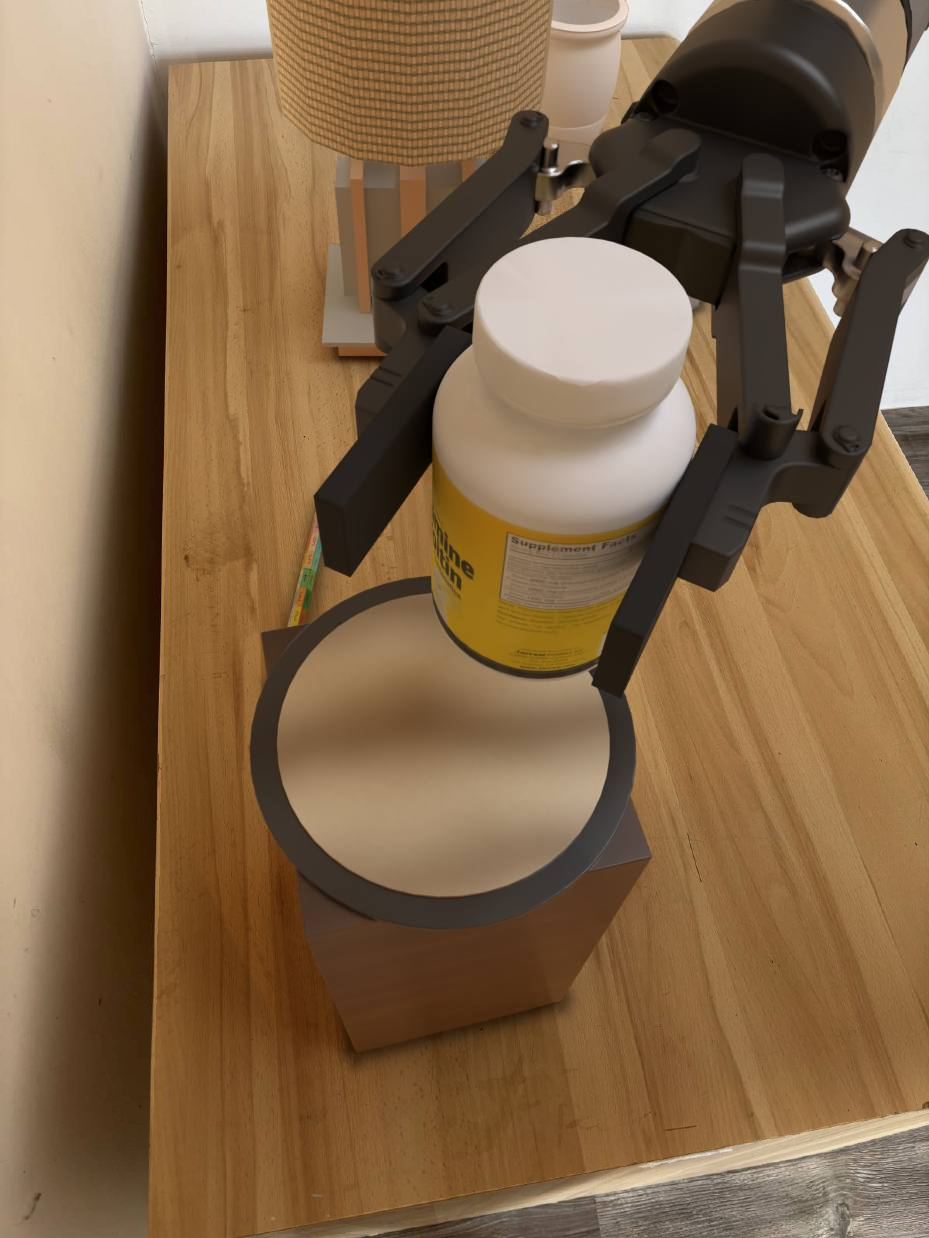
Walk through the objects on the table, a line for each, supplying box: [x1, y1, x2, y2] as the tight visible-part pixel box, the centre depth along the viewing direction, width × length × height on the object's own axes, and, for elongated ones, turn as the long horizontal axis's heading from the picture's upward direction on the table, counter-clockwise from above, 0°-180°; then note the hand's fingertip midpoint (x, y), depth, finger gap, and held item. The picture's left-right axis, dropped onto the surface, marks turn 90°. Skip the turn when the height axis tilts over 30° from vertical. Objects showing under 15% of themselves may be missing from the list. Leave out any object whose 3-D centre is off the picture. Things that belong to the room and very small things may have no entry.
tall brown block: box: [248, 575, 653, 1054], centre depth 45 cm, size 14×14×27 cm
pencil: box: [286, 509, 322, 627], centre depth 69 cm, size 1×1×18 cm
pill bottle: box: [430, 237, 697, 682], centre depth 25 cm, size 6×6×12 cm
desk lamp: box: [265, 0, 554, 357], centre depth 71 cm, size 20×20×35 cm
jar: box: [540, 0, 630, 145], centre depth 94 cm, size 11×10×15 cm
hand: (470, 597), depth 21 cm, fingers closed on pill bottle, 6 cm apart
